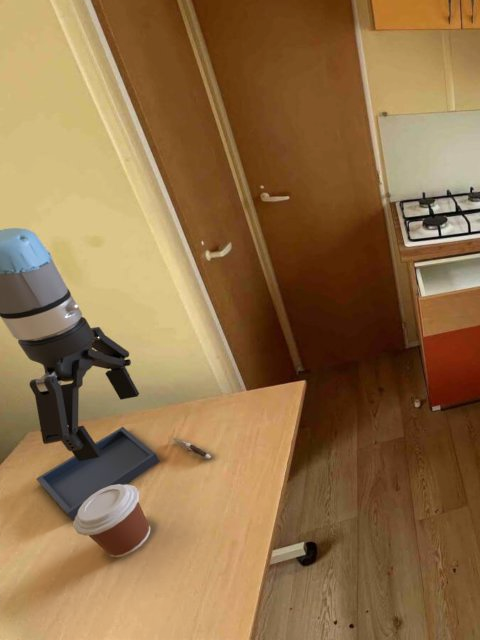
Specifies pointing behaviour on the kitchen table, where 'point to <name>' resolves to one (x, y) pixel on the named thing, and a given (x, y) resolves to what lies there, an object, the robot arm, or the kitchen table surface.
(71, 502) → the tray
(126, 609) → the kitchen table surface
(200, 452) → the pocket knife
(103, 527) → the coffee cup
